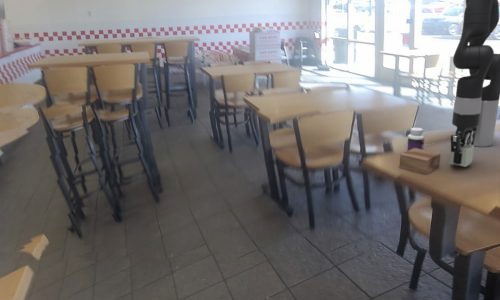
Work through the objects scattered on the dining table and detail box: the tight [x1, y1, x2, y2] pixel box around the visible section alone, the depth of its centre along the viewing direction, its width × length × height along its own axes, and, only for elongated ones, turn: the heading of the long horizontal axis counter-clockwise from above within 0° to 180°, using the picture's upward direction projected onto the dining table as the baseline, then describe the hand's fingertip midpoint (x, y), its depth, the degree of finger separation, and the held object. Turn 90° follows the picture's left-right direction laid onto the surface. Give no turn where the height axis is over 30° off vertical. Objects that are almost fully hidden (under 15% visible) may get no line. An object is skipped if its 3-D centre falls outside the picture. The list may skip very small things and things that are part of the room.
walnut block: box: [399, 148, 441, 176], centre depth 134 cm, size 9×9×5 cm
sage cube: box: [449, 142, 475, 168], centre depth 132 cm, size 5×5×6 cm
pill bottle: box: [406, 127, 425, 151], centre depth 144 cm, size 5×5×10 cm
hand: (460, 160), depth 133 cm, fingers closed on sage cube, 5 cm apart
